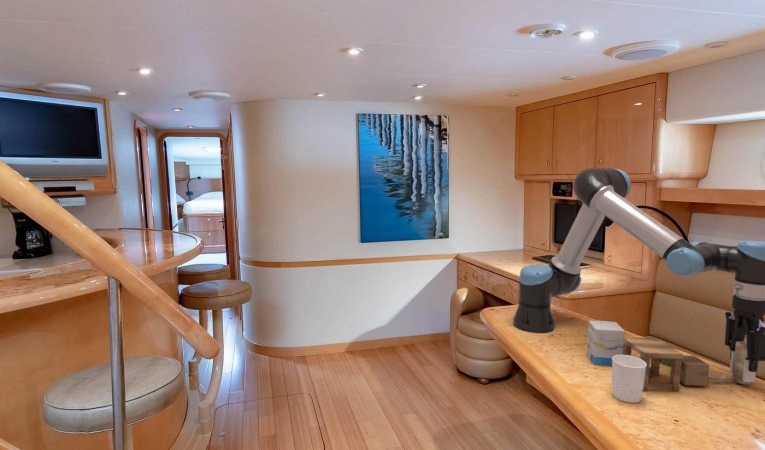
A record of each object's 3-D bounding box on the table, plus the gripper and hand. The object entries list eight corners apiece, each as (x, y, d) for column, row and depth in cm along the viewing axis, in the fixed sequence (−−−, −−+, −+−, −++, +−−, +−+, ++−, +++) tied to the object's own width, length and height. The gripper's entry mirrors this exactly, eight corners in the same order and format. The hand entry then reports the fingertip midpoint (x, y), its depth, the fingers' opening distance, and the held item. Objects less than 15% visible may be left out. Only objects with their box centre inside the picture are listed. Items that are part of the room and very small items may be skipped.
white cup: (604, 388, 117) (606, 354, 116) (633, 389, 117) (635, 354, 116) (619, 404, 110) (621, 367, 108) (650, 404, 109) (653, 367, 108)
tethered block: (671, 374, 124) (674, 338, 122) (740, 376, 123) (744, 339, 122) (685, 385, 118) (688, 347, 116) (757, 386, 117) (761, 348, 116)
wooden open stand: (621, 372, 127) (623, 337, 126) (655, 373, 127) (658, 338, 125) (641, 391, 116) (644, 353, 115) (679, 392, 116) (682, 353, 114)
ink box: (623, 367, 130) (625, 330, 129) (593, 364, 132) (595, 328, 131) (614, 355, 139) (616, 321, 137) (586, 353, 140) (588, 319, 139)
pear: (657, 337, 140) (685, 354, 130) (654, 351, 141) (680, 369, 132) (643, 338, 138) (670, 356, 129) (640, 352, 140) (666, 371, 131)
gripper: (713, 288, 126) (706, 363, 129) (762, 306, 109) (752, 392, 112) (739, 288, 125) (732, 364, 128) (792, 306, 109) (782, 393, 111)
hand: (741, 377), depth 120 cm, fingers closed on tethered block, 4 cm apart
